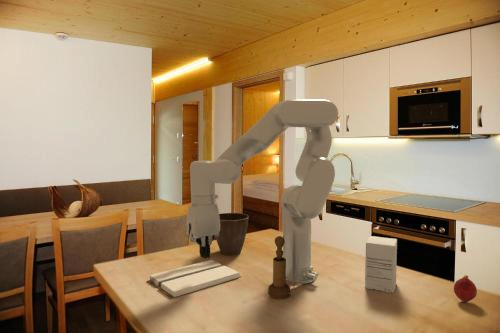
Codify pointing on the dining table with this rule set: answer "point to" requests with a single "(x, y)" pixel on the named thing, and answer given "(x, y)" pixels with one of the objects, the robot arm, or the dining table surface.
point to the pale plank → (199, 280)
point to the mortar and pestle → (279, 273)
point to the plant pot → (232, 232)
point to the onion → (465, 289)
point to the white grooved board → (182, 274)
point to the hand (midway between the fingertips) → (205, 257)
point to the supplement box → (381, 263)
